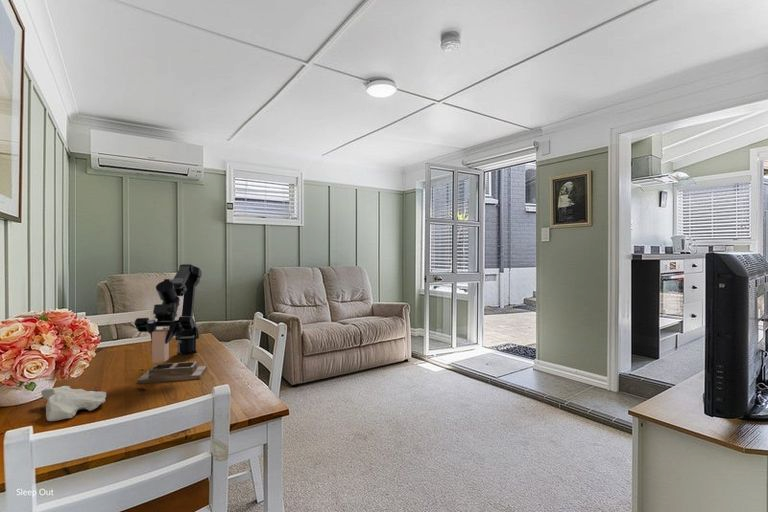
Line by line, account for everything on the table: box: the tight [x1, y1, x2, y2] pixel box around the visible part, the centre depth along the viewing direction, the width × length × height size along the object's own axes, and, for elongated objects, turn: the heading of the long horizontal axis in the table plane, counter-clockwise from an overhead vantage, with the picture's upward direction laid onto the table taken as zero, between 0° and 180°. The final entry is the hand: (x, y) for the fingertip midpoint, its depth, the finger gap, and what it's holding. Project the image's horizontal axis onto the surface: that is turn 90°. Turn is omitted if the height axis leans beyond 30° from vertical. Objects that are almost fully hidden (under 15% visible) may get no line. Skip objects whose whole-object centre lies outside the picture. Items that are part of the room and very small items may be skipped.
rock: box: [40, 385, 107, 422], centre depth 109 cm, size 21×5×15 cm
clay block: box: [151, 328, 170, 364], centre depth 136 cm, size 4×4×11 cm
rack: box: [136, 360, 208, 384], centre depth 137 cm, size 12×20×4 cm, turn 105°
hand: (159, 343), depth 135 cm, fingers closed on clay block, 4 cm apart
